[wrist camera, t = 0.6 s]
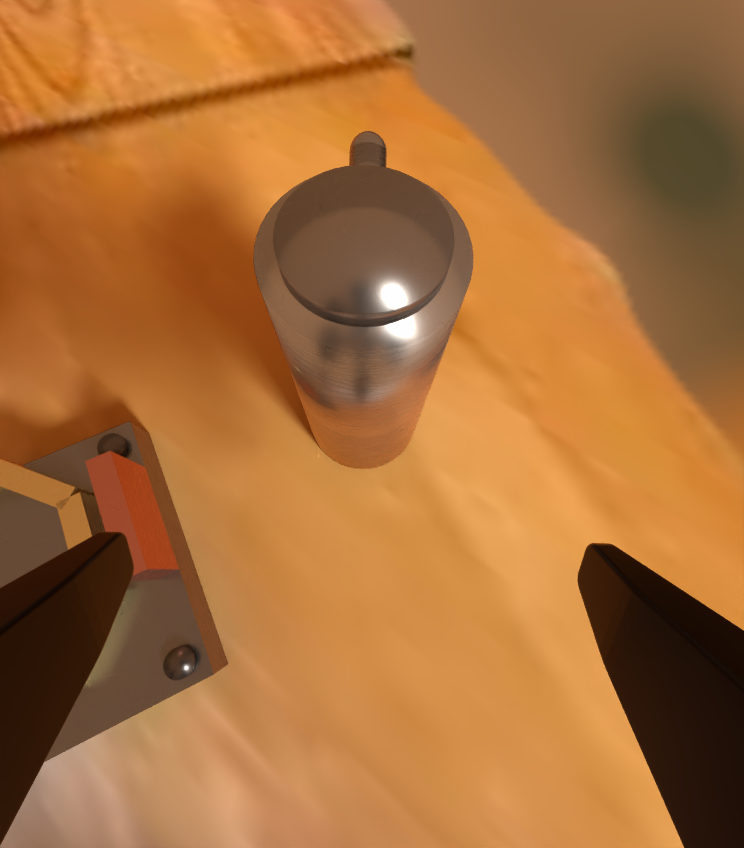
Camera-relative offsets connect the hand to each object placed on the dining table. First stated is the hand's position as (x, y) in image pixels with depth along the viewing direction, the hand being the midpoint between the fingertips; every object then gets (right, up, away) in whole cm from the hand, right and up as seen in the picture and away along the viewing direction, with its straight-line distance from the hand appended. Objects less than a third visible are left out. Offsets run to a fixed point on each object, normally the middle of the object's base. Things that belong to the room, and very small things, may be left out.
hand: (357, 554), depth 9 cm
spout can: (0, +4, +15) cm, 16 cm away
